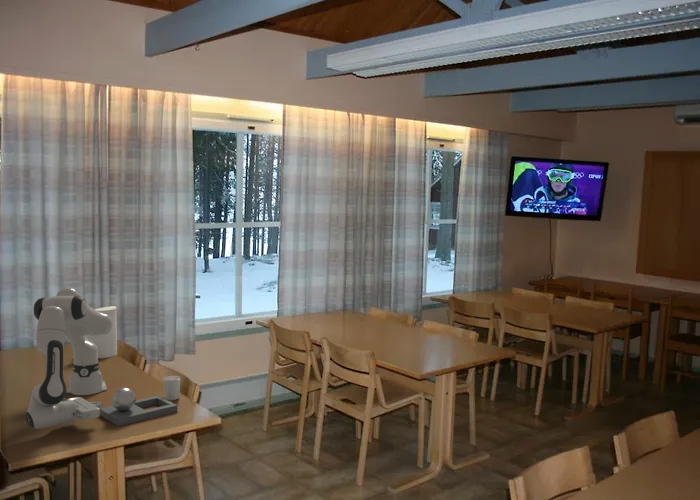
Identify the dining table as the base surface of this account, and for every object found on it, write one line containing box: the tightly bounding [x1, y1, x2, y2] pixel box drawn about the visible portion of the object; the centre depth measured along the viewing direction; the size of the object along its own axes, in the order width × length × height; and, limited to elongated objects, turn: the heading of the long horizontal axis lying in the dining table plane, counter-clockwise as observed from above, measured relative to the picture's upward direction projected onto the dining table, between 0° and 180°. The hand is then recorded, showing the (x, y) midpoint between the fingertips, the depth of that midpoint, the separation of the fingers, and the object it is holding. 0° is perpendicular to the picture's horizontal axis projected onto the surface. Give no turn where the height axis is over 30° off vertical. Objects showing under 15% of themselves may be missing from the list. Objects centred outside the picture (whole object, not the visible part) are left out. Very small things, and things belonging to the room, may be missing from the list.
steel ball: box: [111, 387, 137, 411], centre depth 295 cm, size 10×10×10 cm
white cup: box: [163, 375, 181, 401], centre depth 321 cm, size 8×8×10 cm
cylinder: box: [86, 305, 118, 359], centre depth 396 cm, size 17×17×28 cm
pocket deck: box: [99, 395, 178, 427], centre depth 300 cm, size 28×18×3 cm, turn 134°
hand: (101, 404), depth 288 cm, fingers closed
